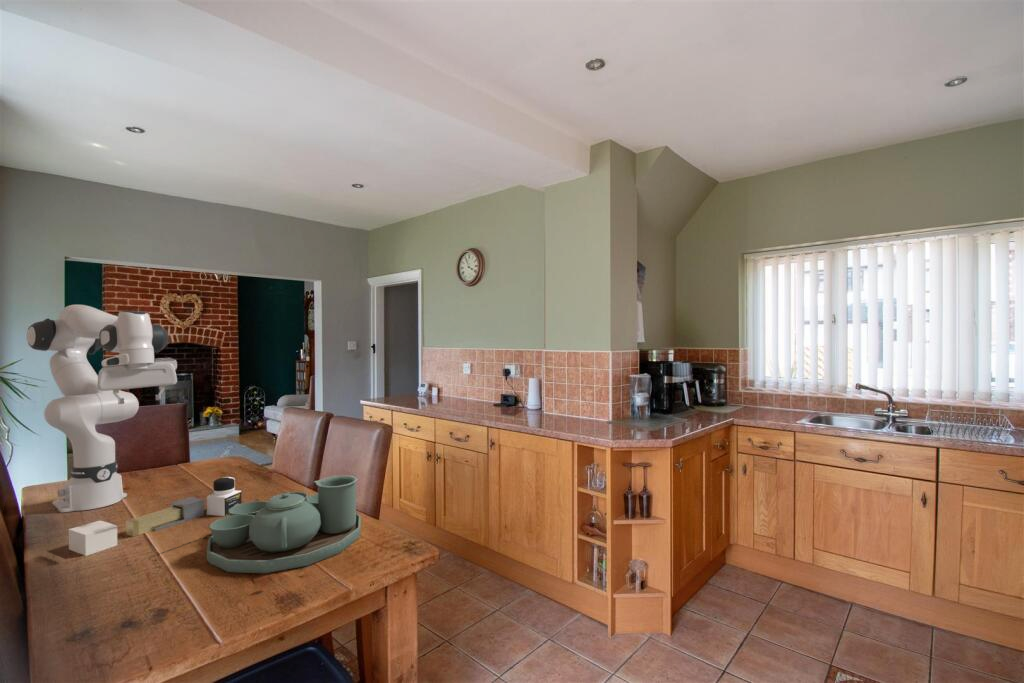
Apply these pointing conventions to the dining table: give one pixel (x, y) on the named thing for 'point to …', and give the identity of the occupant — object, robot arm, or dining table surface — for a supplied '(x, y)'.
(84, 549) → the socket
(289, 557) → the tea set
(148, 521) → the olive rectangular bar
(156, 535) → the dining table surface
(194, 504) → the sleeve
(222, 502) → the medicine bottle
